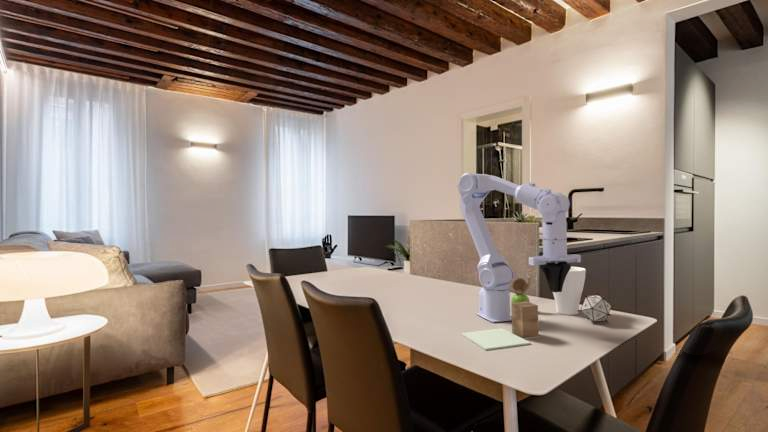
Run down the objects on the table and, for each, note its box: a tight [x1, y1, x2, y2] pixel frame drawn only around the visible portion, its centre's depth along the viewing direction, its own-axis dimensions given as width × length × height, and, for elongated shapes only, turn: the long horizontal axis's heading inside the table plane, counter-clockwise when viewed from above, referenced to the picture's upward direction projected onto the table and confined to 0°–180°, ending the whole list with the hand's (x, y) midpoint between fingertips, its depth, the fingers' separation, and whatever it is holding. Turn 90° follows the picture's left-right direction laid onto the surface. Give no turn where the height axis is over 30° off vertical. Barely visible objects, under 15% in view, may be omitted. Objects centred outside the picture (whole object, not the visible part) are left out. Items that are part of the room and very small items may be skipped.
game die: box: [578, 292, 615, 325], centre depth 107 cm, size 9×8×10 cm
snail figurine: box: [511, 272, 533, 303], centre depth 122 cm, size 5×6×12 cm
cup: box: [552, 265, 587, 316], centre depth 118 cm, size 10×10×14 cm
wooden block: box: [510, 301, 539, 340], centre depth 98 cm, size 4×4×8 cm
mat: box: [460, 327, 532, 351], centre depth 95 cm, size 12×12×1 cm
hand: (555, 291), depth 100 cm, fingers closed
